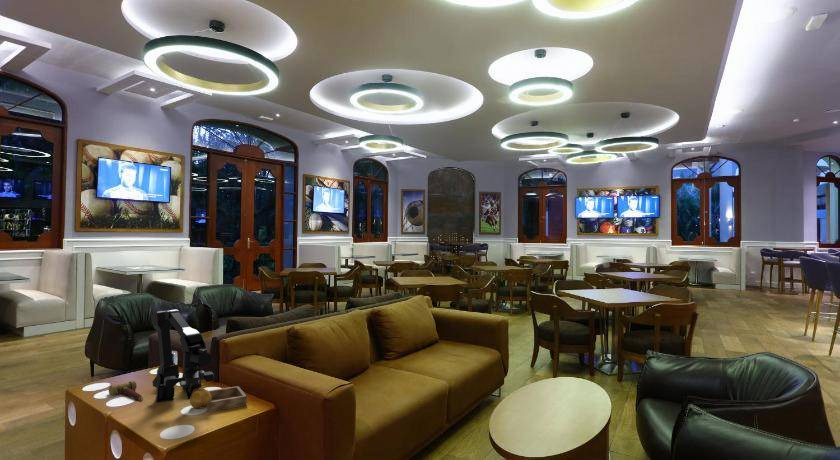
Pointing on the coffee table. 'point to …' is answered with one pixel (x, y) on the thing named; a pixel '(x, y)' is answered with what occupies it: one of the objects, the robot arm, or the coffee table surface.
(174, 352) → the beer glass
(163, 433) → the coffee table surface
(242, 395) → the tray
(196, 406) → the fruit
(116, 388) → the gavel
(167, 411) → the coffee table surface
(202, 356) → the robot arm
